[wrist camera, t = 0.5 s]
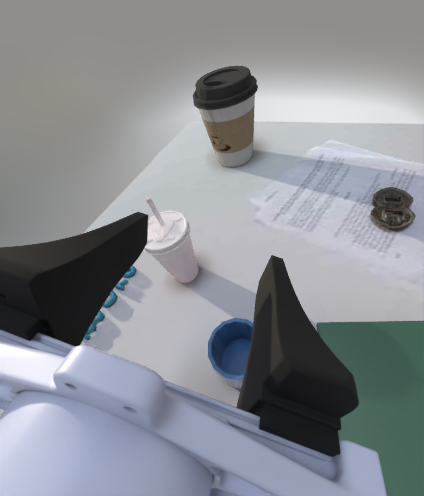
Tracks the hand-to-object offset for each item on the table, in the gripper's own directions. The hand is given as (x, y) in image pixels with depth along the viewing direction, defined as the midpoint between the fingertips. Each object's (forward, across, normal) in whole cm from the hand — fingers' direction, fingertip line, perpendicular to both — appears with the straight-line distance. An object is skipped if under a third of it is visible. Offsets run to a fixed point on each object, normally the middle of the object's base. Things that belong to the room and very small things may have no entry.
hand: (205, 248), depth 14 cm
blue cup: (+4, -6, +17) cm, 19 cm away
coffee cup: (+42, +4, +9) cm, 44 cm away
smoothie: (+15, +4, +18) cm, 24 cm away
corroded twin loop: (+26, -21, +5) cm, 34 cm away
